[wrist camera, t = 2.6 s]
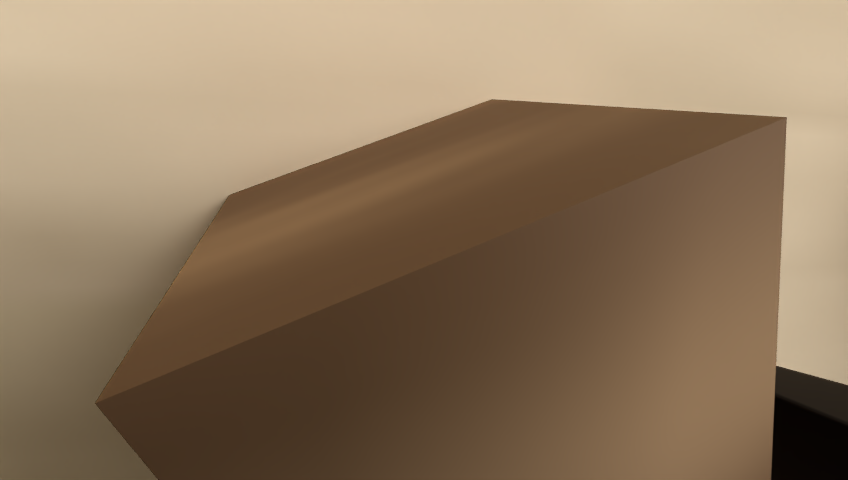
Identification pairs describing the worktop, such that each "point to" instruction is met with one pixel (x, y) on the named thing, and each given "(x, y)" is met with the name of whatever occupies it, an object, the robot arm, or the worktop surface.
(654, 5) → the worktop surface
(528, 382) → the board
